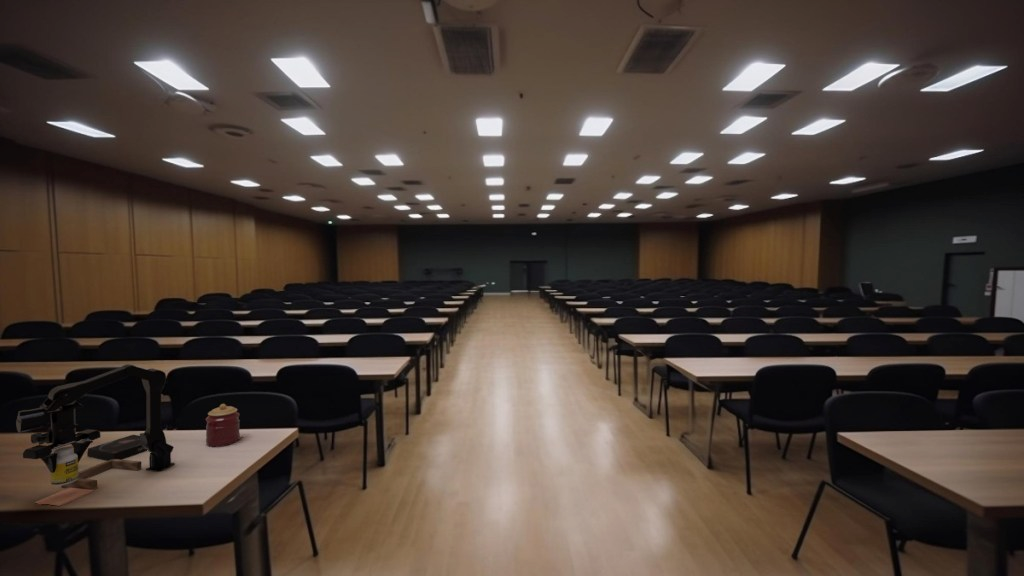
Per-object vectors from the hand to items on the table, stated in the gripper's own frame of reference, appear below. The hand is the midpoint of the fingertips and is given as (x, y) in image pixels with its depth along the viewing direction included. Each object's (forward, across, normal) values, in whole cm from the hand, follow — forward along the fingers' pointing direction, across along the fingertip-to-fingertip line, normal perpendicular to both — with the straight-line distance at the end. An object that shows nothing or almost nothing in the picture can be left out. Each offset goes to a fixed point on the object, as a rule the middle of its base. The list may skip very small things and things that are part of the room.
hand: (64, 467), depth 145 cm
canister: (+11, -52, +13) cm, 55 cm away
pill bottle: (+5, 0, 0) cm, 5 cm away
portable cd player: (+11, -35, -20) cm, 42 cm away
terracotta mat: (+10, 0, 0) cm, 10 cm away
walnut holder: (+10, -14, -2) cm, 17 cm away
